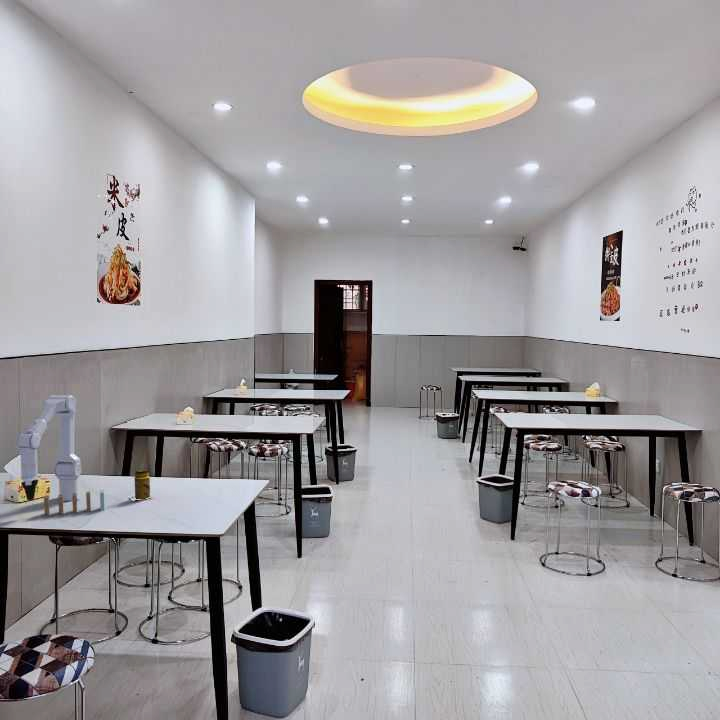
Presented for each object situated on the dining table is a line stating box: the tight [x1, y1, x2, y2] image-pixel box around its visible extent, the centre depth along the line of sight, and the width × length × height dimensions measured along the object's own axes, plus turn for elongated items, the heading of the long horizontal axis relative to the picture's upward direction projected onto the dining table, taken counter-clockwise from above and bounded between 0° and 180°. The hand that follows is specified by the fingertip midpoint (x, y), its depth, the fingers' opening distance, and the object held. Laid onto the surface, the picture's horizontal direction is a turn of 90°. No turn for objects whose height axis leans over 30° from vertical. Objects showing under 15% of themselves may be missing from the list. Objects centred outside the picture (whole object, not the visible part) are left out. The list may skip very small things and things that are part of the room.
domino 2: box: [57, 493, 64, 515], centre depth 274 cm, size 4×1×7 cm, turn 20°
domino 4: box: [85, 491, 92, 513], centre depth 278 cm, size 4×1×7 cm, turn 20°
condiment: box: [134, 468, 151, 499], centre depth 295 cm, size 7×8×12 cm
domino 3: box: [71, 493, 78, 514], centre depth 276 cm, size 4×1×7 cm, turn 20°
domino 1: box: [43, 494, 51, 517], centre depth 273 cm, size 4×1×7 cm, turn 20°
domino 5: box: [99, 489, 105, 511], centre depth 280 cm, size 4×1×7 cm, turn 20°
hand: (30, 499), depth 270 cm, fingers closed
